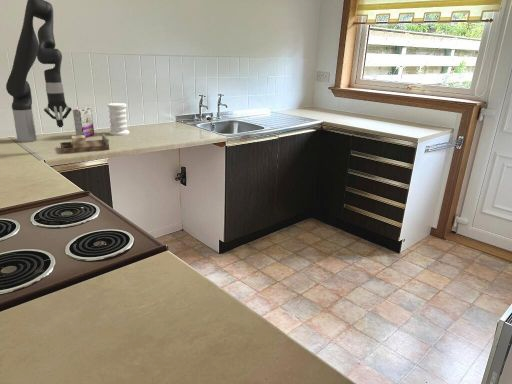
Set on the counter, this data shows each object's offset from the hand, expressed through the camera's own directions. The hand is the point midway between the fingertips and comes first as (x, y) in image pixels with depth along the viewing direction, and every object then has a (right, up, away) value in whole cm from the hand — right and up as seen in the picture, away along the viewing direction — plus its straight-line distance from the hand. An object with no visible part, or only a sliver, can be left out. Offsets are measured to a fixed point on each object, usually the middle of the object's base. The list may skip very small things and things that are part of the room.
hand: (60, 126), depth 196 cm
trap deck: (+8, -10, +9) cm, 16 cm away
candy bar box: (-3, 0, +35) cm, 35 cm away
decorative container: (+14, +3, +46) cm, 48 cm away
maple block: (+6, -8, +7) cm, 12 cm away
